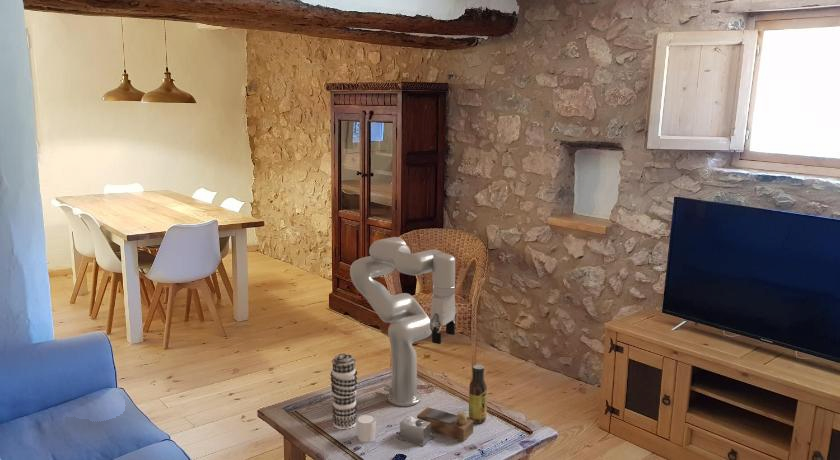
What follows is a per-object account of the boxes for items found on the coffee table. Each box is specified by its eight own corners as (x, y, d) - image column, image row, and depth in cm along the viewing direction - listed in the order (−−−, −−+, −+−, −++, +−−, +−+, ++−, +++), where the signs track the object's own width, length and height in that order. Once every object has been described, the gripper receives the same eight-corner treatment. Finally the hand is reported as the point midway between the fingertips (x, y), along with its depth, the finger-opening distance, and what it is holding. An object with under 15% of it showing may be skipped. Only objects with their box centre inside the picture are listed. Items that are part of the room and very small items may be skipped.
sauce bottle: (485, 425, 219) (486, 371, 215) (467, 423, 220) (468, 370, 216) (487, 416, 225) (488, 364, 221) (469, 414, 226) (470, 362, 222)
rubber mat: (397, 438, 211) (397, 437, 210) (408, 429, 216) (408, 427, 216) (422, 446, 205) (422, 445, 205) (433, 437, 211) (433, 435, 211)
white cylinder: (368, 445, 206) (368, 426, 205) (351, 439, 210) (351, 420, 208) (380, 436, 212) (380, 417, 210) (364, 430, 216) (364, 411, 214)
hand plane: (417, 427, 217) (417, 407, 216) (427, 418, 223) (427, 399, 222) (463, 441, 208) (463, 420, 207) (473, 432, 214) (473, 412, 213)
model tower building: (344, 414, 227) (342, 349, 221) (363, 421, 221) (362, 355, 216) (326, 425, 219) (324, 357, 214) (346, 433, 214) (344, 364, 209)
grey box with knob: (400, 435, 211) (400, 420, 210) (408, 429, 215) (407, 414, 214) (423, 443, 207) (423, 427, 205) (430, 436, 211) (430, 421, 210)
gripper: (446, 282, 222) (446, 328, 226) (421, 295, 208) (421, 344, 211) (465, 286, 219) (464, 332, 222) (441, 299, 204) (440, 349, 208)
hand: (443, 338), depth 217 cm, fingers open, 9 cm apart
